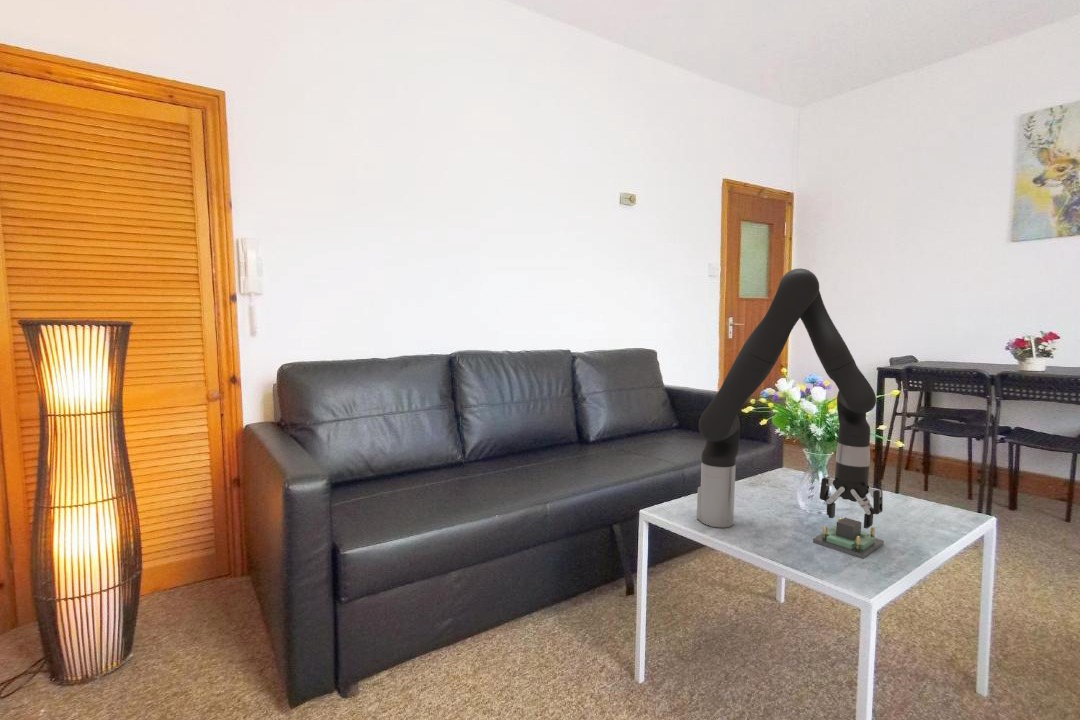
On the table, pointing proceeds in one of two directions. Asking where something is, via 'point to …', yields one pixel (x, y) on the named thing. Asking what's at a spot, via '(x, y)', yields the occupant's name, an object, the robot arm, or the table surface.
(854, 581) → the table surface
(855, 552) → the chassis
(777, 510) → the table surface
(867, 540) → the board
